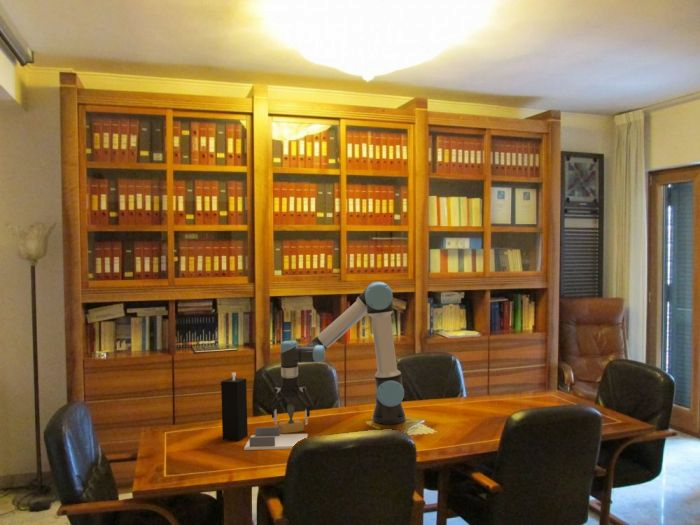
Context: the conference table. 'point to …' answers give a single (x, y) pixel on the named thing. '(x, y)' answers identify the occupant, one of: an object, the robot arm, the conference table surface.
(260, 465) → the conference table surface
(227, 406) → the black square column
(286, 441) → the docking plate
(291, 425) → the rubber stamp
